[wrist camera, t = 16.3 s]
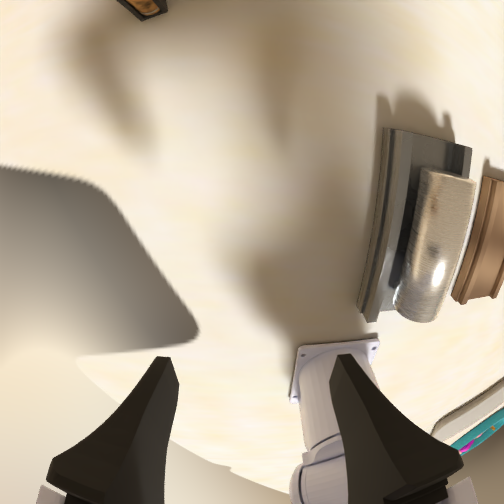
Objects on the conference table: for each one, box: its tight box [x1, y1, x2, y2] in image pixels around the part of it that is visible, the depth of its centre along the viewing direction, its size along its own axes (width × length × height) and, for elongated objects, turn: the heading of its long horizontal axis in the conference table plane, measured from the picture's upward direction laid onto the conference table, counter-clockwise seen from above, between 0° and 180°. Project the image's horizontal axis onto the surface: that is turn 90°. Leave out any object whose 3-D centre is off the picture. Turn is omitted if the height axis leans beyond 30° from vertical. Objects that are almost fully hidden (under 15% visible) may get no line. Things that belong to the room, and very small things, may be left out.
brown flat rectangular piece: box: [451, 176, 504, 305], centre depth 18 cm, size 12×7×2 cm, turn 0°
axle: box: [393, 167, 476, 323], centre depth 16 cm, size 10×4×4 cm, turn 1°
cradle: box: [357, 128, 472, 323], centre depth 17 cm, size 14×7×2 cm, turn 0°
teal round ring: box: [451, 408, 504, 455], centre depth 50 cm, size 30×30×6 cm
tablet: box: [431, 379, 504, 442], centre depth 37 cm, size 16×26×2 cm, turn 112°
